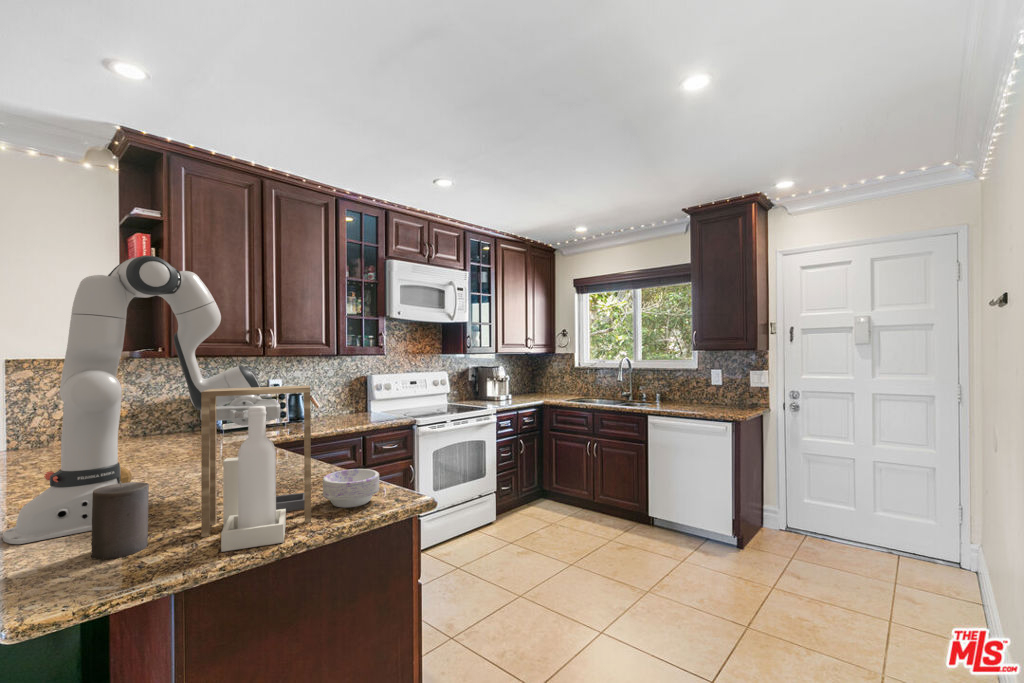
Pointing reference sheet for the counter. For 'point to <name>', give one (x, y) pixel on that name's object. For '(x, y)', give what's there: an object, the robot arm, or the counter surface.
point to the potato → (125, 475)
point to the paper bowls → (350, 487)
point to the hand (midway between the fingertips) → (238, 415)
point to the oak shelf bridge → (210, 447)
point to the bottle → (256, 474)
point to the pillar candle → (119, 520)
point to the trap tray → (290, 502)
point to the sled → (230, 533)
